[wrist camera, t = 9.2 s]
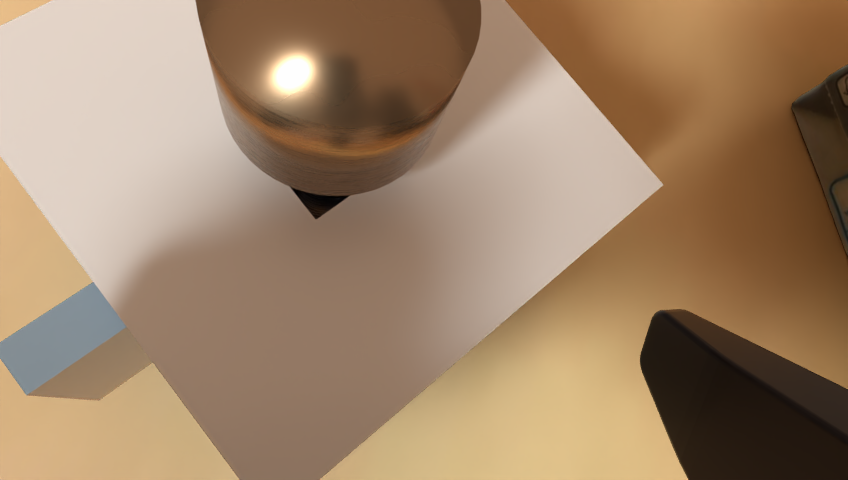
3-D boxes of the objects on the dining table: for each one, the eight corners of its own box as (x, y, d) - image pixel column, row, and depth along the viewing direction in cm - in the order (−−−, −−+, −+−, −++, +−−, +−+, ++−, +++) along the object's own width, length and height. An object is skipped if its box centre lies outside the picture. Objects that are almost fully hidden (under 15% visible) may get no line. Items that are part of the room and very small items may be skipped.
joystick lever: (496, 252, 18) (718, 71, 8) (290, 418, 15) (279, 424, 6) (342, 64, 18) (389, -300, 9) (123, 198, 16) (-116, -98, 7)
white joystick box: (533, 266, 19) (663, 184, 12) (213, 533, 15) (148, 625, 9) (346, 39, 19) (371, -155, 13) (2, 245, 16) (-205, 125, 9)
